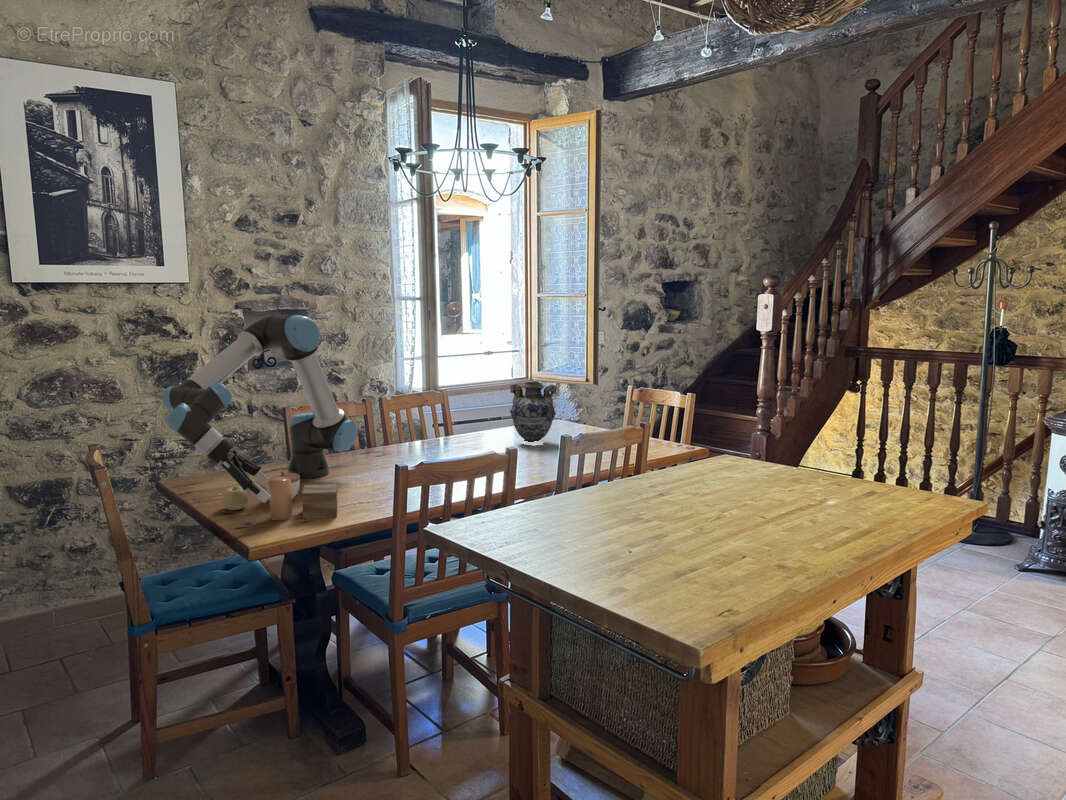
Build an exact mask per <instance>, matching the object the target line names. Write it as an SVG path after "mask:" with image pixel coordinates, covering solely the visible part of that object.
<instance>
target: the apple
mask: <svg viewBox="0 0 1066 800" xmlns="http://www.w3.org/2000/svg"><path fill="white" fill-rule="evenodd" d="M221 502H222V505H223V507H224V508H225V509H226V510H229V511H239V510H242V509H244V508H246V506H247V504H248V503H249V493H248V491H247V489H246V490H243V489H242V487H241V486H240V485H232V486H230V487H227V488H226V489H225V490H224V491H223V493H222V497H221Z"/></svg>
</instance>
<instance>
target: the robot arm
mask: <svg viewBox="0 0 1066 800" xmlns="http://www.w3.org/2000/svg"><path fill="white" fill-rule="evenodd" d="M320 337H321V331H320V329H319V326H318V325H317V323H316V322H315V321H314V320H313V319H312V318H310V317H308V316H304V315H301V314H299V315H298V314H292V315H288V314H284V315H283V314H282V315H281V314H270V315H266V316H263V317H261V318H260V319H257V320H256V321H254V322H253V323H251V324H249V325H248V326H247V327H245V328H244V329H243V330H241V331H240V332H239V333H238V335H237V338H236V340H234V341H232V343H231V344H230V345H228V346H227V347H226V348H224V349H223V350H222V351H220V353H218V354H216V355H215V357H213V358H211V360H209V361H208V362H207V363H206V364H205V365H204V366H202V367H201V368H199V370H197V371H196V372H194V373H193V374H192V375H191V376H190V377H189V378H186V380H185V381H183V382H182V383H181V384H180V385H172V386H169V387H167V388H165V390H164V391H163V392H162V395H161V400H162V403H163V405H164V407H165V408H167V409H168V410H171V412H170V413H168V415H167V416H166V417H165V422H166V424H167V425H168V426H169V427H170V428H171V429H172V430H174V432H175V433H177V434H178V435H180V436H181V437H182V438H184V439H185V440H186V441H187V442H189V443H190V444H191V446H193V447H195V451H196V452H200V453H201V454H202V455H206V458H208V460H209V461H211V462H212V463H213V464H214V465H217V464H219V462H222V463H221V464H220V465H221V467H222V468H223V469H224V470H225V471H226V472H227V473H229V475H230V476H231V477H232V478H233V479H234V481H236V482H237V484H238V486H240V487H242V489H243V490H246V491H247V490H248V491H249V492H250V493H251V494H253V495H254V496H255V497H256V498H257V499H259V501H261V502H262V503H264V504H265V503H267V501H269V500H270V499H269V498H270V497H271V495H270V494H269V493H268V490H269V478H268V477H267V476H268V475H266V474H265V473H264V472H263V471H261V470H262V467H261V466H259V465H257V464H255V463H254V462H253V461H251V460H250V459H248V458H246V457H245V456H243V455H242V454H240V453H239V452H238V451H237V450H235V449H233V448H234V447H235V446H234V444H233V443H232V442H231V441H230V440H229V439H227V438H225V437H224V435H223V434H222V433H220V432H219V431H218V430H217V429H215V428H214V427H213V426H212V425H211V424H210V422H211V421H212V420H213V419H214V418H216V417H217V416H218V415H219V414H220V413H221V412H222V411H223V410H225V409H226V407H227V406H228V405H229V404H230V403H231V401H232V399H233V394H232V393H231V391H230V389H229V388H228V387H227V386H225V384H222V383H223V382H225V381H226V380H227V379H228V378H229V377H231V376H232V375H233V374H234V373H235V372H237V371H238V370H239V369H240V368H241V367H243V365H245V364H247V362H248V361H249V360H251V359H252V358H253V357H255V356H256V357H258V356H260V355H261V354H263V353H264V352H266V351H269V350H273V349H274V350H281V353H282V355H283V357H284V359H285V360H286V361H288V362H290V363H291V364H292V366H293V368H294V372H295V373H296V375H297V376H296V377H297V378H298V381H299V383H300V385H301V387H302V388H301V389H302V390H303V393H304V395H305V397H306V399H307V401H308V404H309V406H310V409H311V411H312V412H305V413H304V412H303V413H299V414H295V415H292V416H291V417H290V421H289V422H290V424H289V430H290V447H291V453H290V454H291V455H290V459H289V462H288V465H287V467H286V468H287V469H286V470H287V471H286V473H296V474H299V475H300V479H311V478H312V477H314V478H318V476H320V477H324V476H327V475H328V474H329V472H330V466H329V463H328V461H327V458H326V455H325V453H324V452H325V451H324V450H328V451H329V450H330V451H335V452H346V451H348V450H350V449H351V448H352V447H353V446H354V444H355V442H356V441H357V437H358V426H357V423H356V422H355V421H354V420H352V419H348V418H347V417H346V414H345V411H344V410H343V409H342V408H339V407H338V406H337V402H336V401H335V398H334V395H333V392H332V390H331V387H330V386H329V382H328V380H327V378H326V375H325V372H324V371H323V368H322V366H321V365H322V364H321V363H320V360H319V358H318V355H317V352H318V351H319V345H320V340H321V339H320ZM223 437H224V438H223ZM248 474H249V475H251V476H253V479H255V480H256V482H255V481H253V480H252V479H251V478H250V476H249V475H248ZM323 475H324V476H323ZM312 479H313V478H312ZM257 482H258V483H259V484H261V485H262V486H263V487H264V488H266V489H268V490H267V491H266V490H265V489H264V488H262V487H261V486H260V485H259V484H258V483H257Z"/></svg>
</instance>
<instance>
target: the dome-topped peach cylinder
mask: <svg viewBox="0 0 1066 800" xmlns="http://www.w3.org/2000/svg"><path fill="white" fill-rule="evenodd" d="M269 494H270V495H271V497H270V498H269V499H268V500H269V516H270V517H269V518H271V519H274V520H283V521H286V520H285V519H288V520H290V518H291V517H292V518H293V500H292V494H291V478H289V477H275V478H271V479H269ZM292 518H291V519H292ZM271 519H270V520H271ZM274 520H273V521H274Z"/></svg>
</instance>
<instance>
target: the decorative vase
mask: <svg viewBox="0 0 1066 800" xmlns="http://www.w3.org/2000/svg"><path fill="white" fill-rule="evenodd" d="M523 388H524V389H523ZM557 388H558V387H557V385H554V384H549V385H547V386H545V385H543V383H542V382H534V381H533V382H532V381H531V382H530V381H529V382H524V384H523V385H522V387H521V385H519V384H518V383H513V384H511V385H510V387H509V389H510V393H511V394H514V396H513V397H512V405H511V409H510V411H509V413H510V414H511V415H510V416H511V419H512V421H513V427H514V428H515V431H516V432H517V434H518V436H520V437H521V438H522V439H523V440H524V441H528V442H534V441H539V440H542V439H543V438H544V437H546V436H547V434H548V433H549V432H550V429H551V427H552V425H553V421H554V419H555V415H556V410H555V406H554V399H553V395H556V394H557V390H558V389H557ZM542 389H543V395H542ZM523 390H525V392H524V391H523Z"/></svg>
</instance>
